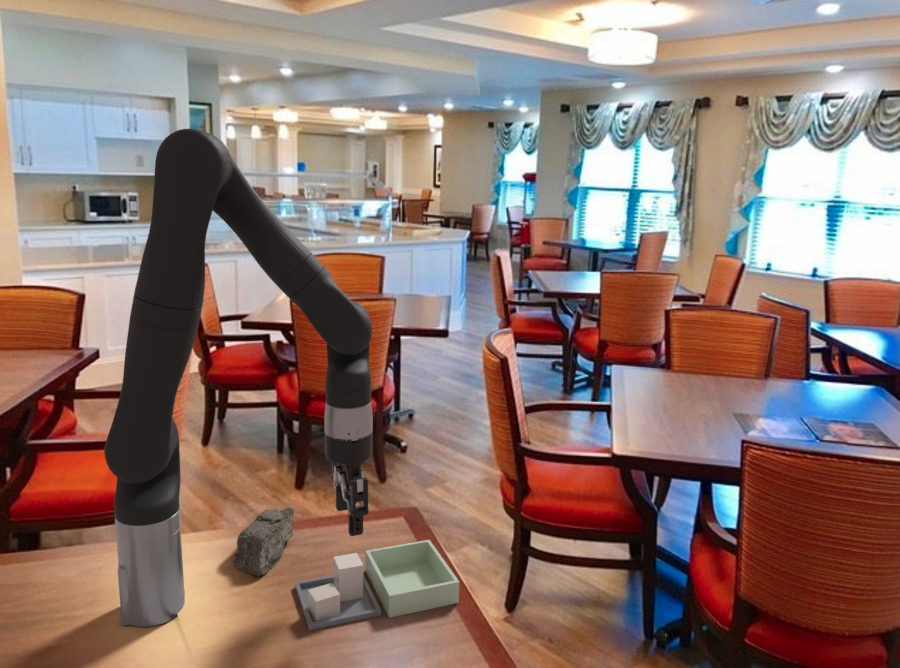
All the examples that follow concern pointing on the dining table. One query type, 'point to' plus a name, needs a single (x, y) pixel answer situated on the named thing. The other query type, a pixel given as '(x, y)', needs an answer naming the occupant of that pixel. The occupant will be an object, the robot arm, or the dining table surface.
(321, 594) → the smooth off-white cube
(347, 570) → the off-white rectangular block
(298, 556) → the dining table surface
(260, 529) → the rock
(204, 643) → the dining table surface
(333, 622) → the slate tray
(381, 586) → the green bin
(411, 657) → the dining table surface
